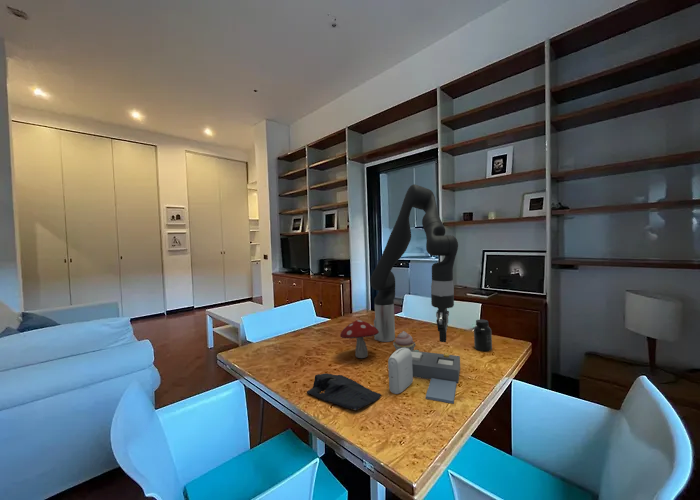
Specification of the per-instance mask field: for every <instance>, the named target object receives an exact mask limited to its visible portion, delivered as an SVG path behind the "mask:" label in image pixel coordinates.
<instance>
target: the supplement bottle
mask: <svg viewBox="0 0 700 500" xmlns="http://www.w3.org/2000/svg"><path fill="white" fill-rule="evenodd" d="M492 334H493V333H492V328H491V327H490V325H489V321H488V320H487V319H477V320H475V326H474V327H473V341H474V345H473V346H474V348H475V349H474V350H477V351H479V352H491V351H492V349H493V337H492Z"/></svg>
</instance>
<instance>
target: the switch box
mask: <svg viewBox="0 0 700 500" xmlns="http://www.w3.org/2000/svg"><path fill="white" fill-rule="evenodd" d="M410 351H411V352H420V353H422V359H421V361H414V360H412V368H413V378H419V379H424V380H431V378H435V379H441V380H448V381H455V382H456V385H457V384H459V380H460V373H461V372H460V371H461V355H455V354H450V353H448V352H444V353H437V352H436V353H435V352H429V351H428V352H427V351H420V350H419V349H414V350H413V351H412V350H410ZM439 359H441V360H449V361H453V365H446V364H438V361H439Z"/></svg>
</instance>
